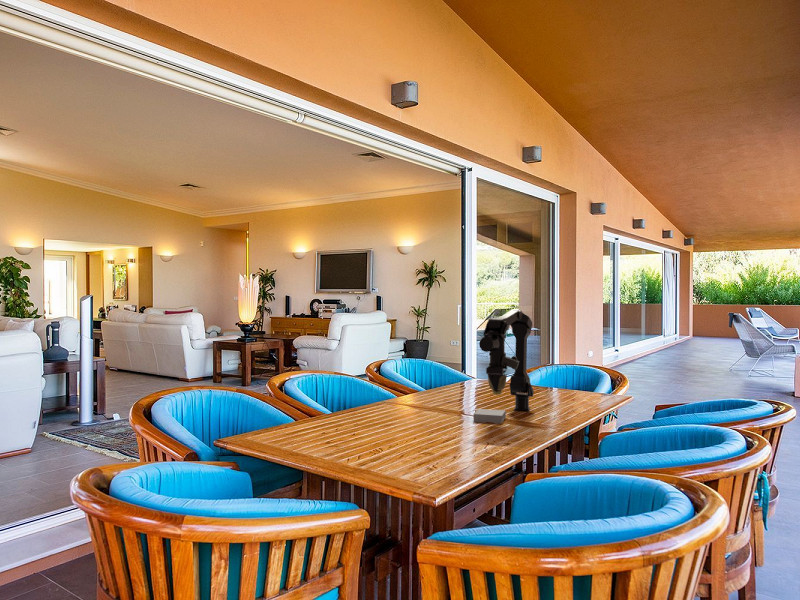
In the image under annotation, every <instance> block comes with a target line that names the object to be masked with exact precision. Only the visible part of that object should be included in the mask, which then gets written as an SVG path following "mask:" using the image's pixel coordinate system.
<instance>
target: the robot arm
mask: <svg viewBox="0 0 800 600" xmlns="http://www.w3.org/2000/svg"><path fill="white" fill-rule="evenodd" d="M509 326H510V327H511V332H512V335H513V336H514V338H515V355H513V356H512V357H509V356H507V354H506V351H505V346H506V345H505V344H506V343H505V340H506V338H507V336H506V333H507V331H508V330H509ZM532 328H533V321H532V319H531V318H530V316H529V315H527V314H526V313H524V312H523V311H522V310H521V309H510V310H508V312H506V313H504V314H503V315H501V316H499V317H491V318H489V319H488V321H487V322H486V325H485V328H484V331H483V334H482V335H483V337H482V338H481V339H480V340H479V343H478V344H479V348H480V350H482V352H485V353H488V352H489V353H488V356H489V363H488V366H487V367H486V368H485V372H486V374H487V377H488V376H489V379H490V381H491V383H492V386H493V388H494V390H495V391H497V390H498V385H499V380H500V377H501V376H502V375H504V374H505V373H506V372H507V369H508V367H509V368H511V369H512V370H514V372H513V374H512V375H511V376H510V379H509V380H510V383H509V390H510V395H511V396H515V398H514V399H515V400H514V401H515V403H514V404H515V405H514V408H513V411H522V412H530V410H531V407H529V406H530V405H529V404H530V397H534V394H535V393H534V391H535V390H534V388H533V386H532V384H531V378H530V376H529V374H528V373H527V354H528V353H527V352H528V351H527V350H528V349H527V348H528V338H529V336H530V334H531V333H532Z"/></svg>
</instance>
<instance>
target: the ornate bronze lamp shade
mask: <svg viewBox="0 0 800 600" xmlns="http://www.w3.org/2000/svg"><path fill="white" fill-rule="evenodd" d="M507 377H508V374H505V373H504V374H503V375H502V376H501V377H500V380H499V385H498V390H497V391H495V390H494V388H493V386H492V383H491V381H490V379H489V376H488V375H487V381H488V386H489V388H490V389H491V390H492V394H493V395H495V396H496V395H498V396H499V395H501V394H503V390H504V389H505V388H506V385H507Z"/></svg>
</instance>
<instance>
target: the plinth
mask: <svg viewBox="0 0 800 600" xmlns="http://www.w3.org/2000/svg"><path fill="white" fill-rule="evenodd" d="M506 413H507V411H506V410H503V409H487V408H486V409H485V408H478V409H476V411H475V412H474V413H473V423H486V422H493V423H492V424H501V423H502V422H505V420H506V415H507V414H506ZM504 419H505V420H504ZM502 424H503V423H502Z"/></svg>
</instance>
